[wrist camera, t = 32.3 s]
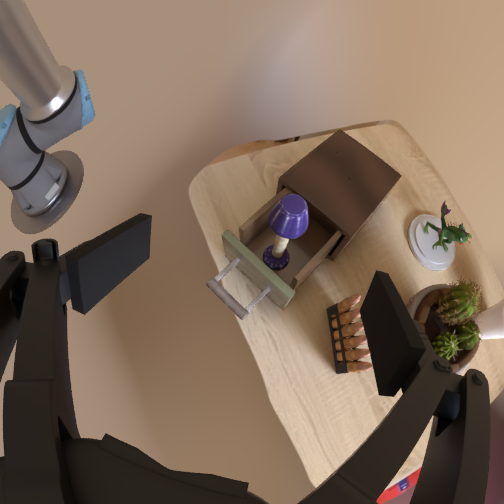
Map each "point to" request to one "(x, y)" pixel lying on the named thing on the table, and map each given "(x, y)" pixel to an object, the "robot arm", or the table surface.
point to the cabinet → (341, 184)
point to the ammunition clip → (340, 343)
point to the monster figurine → (435, 240)
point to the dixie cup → (492, 322)
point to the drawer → (254, 244)
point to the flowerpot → (449, 320)
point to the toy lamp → (285, 229)
